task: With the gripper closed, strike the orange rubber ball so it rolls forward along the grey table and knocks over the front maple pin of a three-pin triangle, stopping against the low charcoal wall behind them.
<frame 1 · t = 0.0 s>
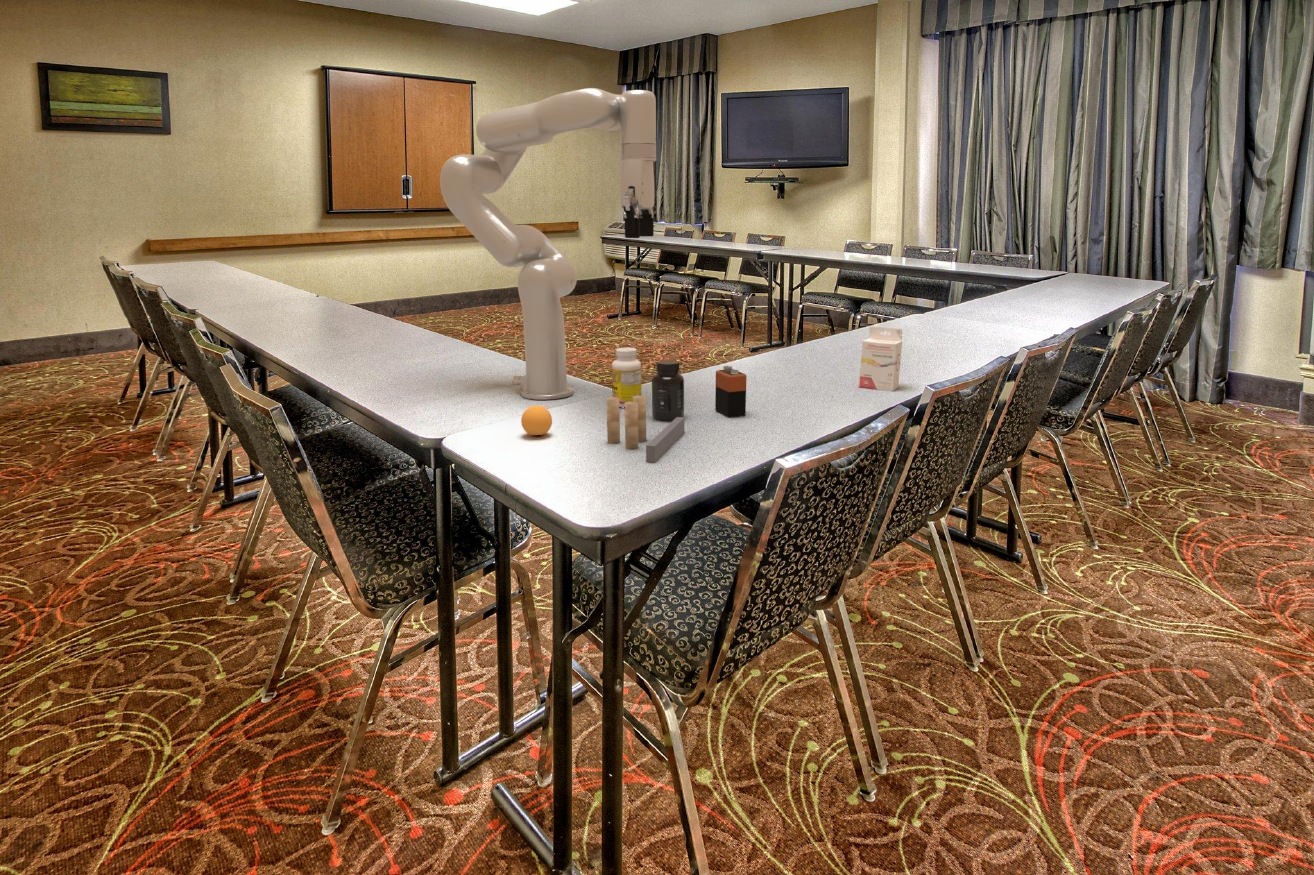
hand: (639, 237, 171), 37 cm above the table, tool pointing down, fingers open, 9 cm apart
ink cartridge box: (878, 388, 193), on the table
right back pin: (631, 447, 146), on the table
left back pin: (640, 440, 151), on the table
supplement bottle: (668, 418, 167), on the table
supplement bottle 2: (627, 406, 177), on the table
front pin: (613, 441, 150), on the table
back wall: (666, 446, 147), on the table
ball: (536, 420, 153), on the table
battery: (730, 414, 170), on the table
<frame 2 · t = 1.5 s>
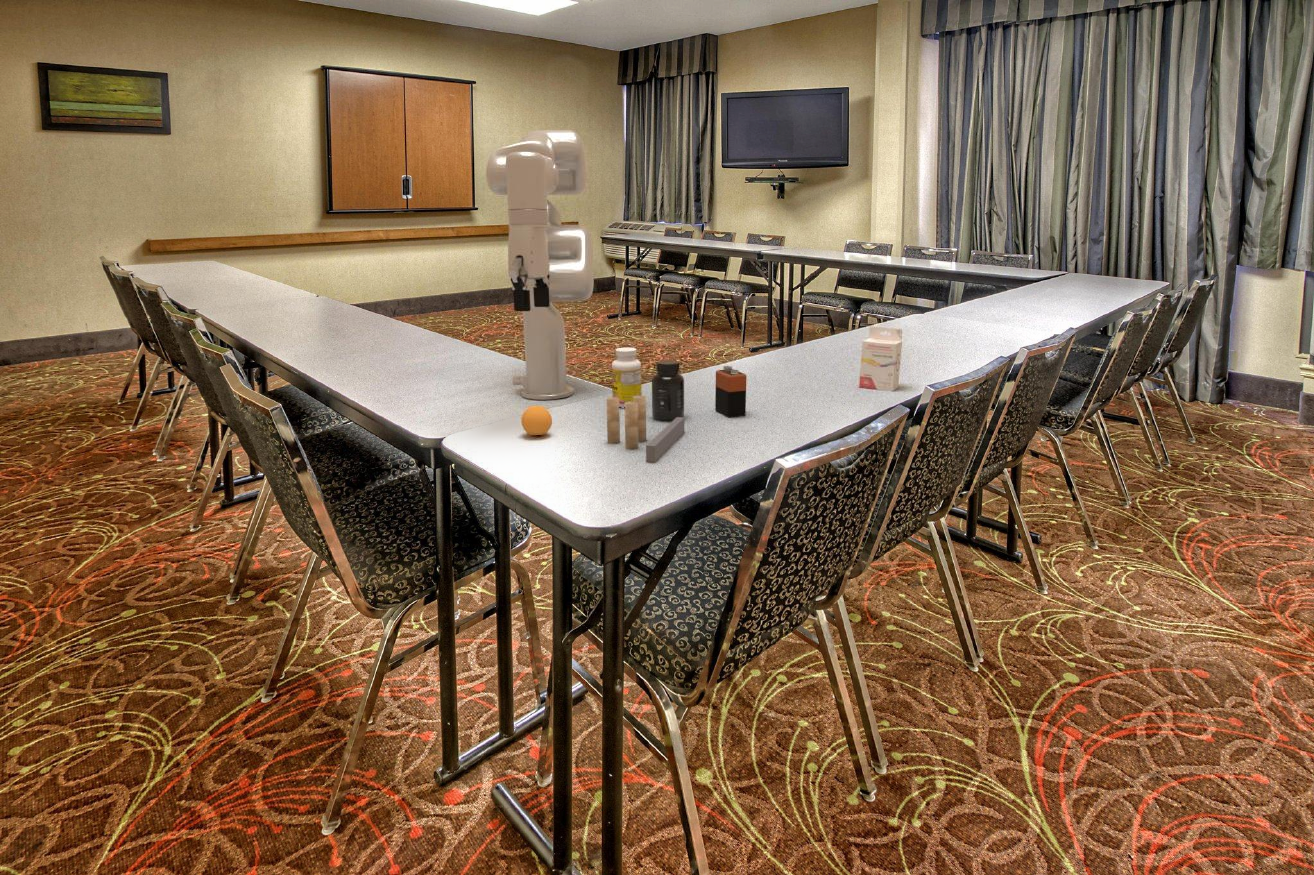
hand: (532, 309, 156), 24 cm above the table, tool pointing down, fingers open, 9 cm apart
nothing on the table moved.
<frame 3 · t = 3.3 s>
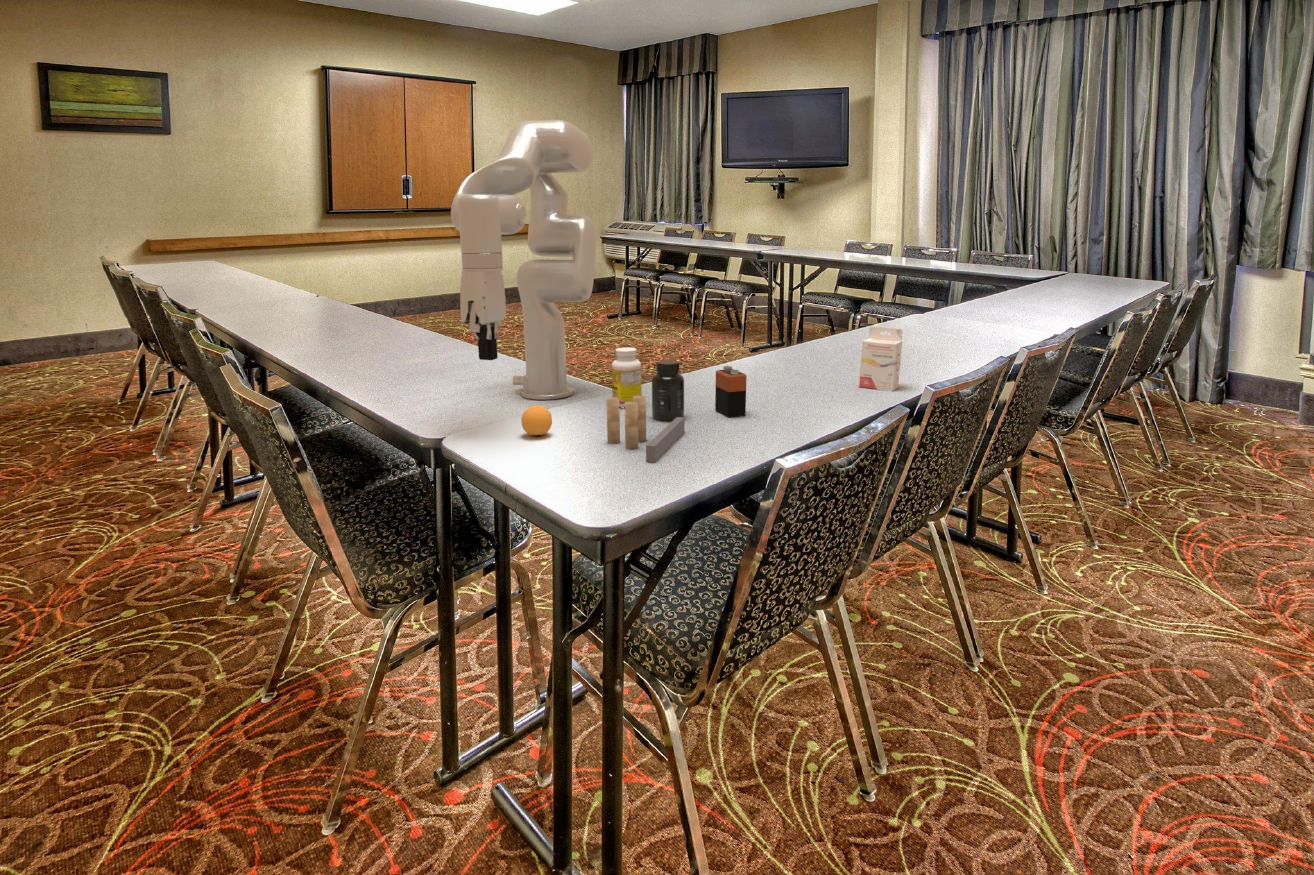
hand: (488, 359, 152), 15 cm above the table, tool pointing down, fingers closed
nothing on the table moved.
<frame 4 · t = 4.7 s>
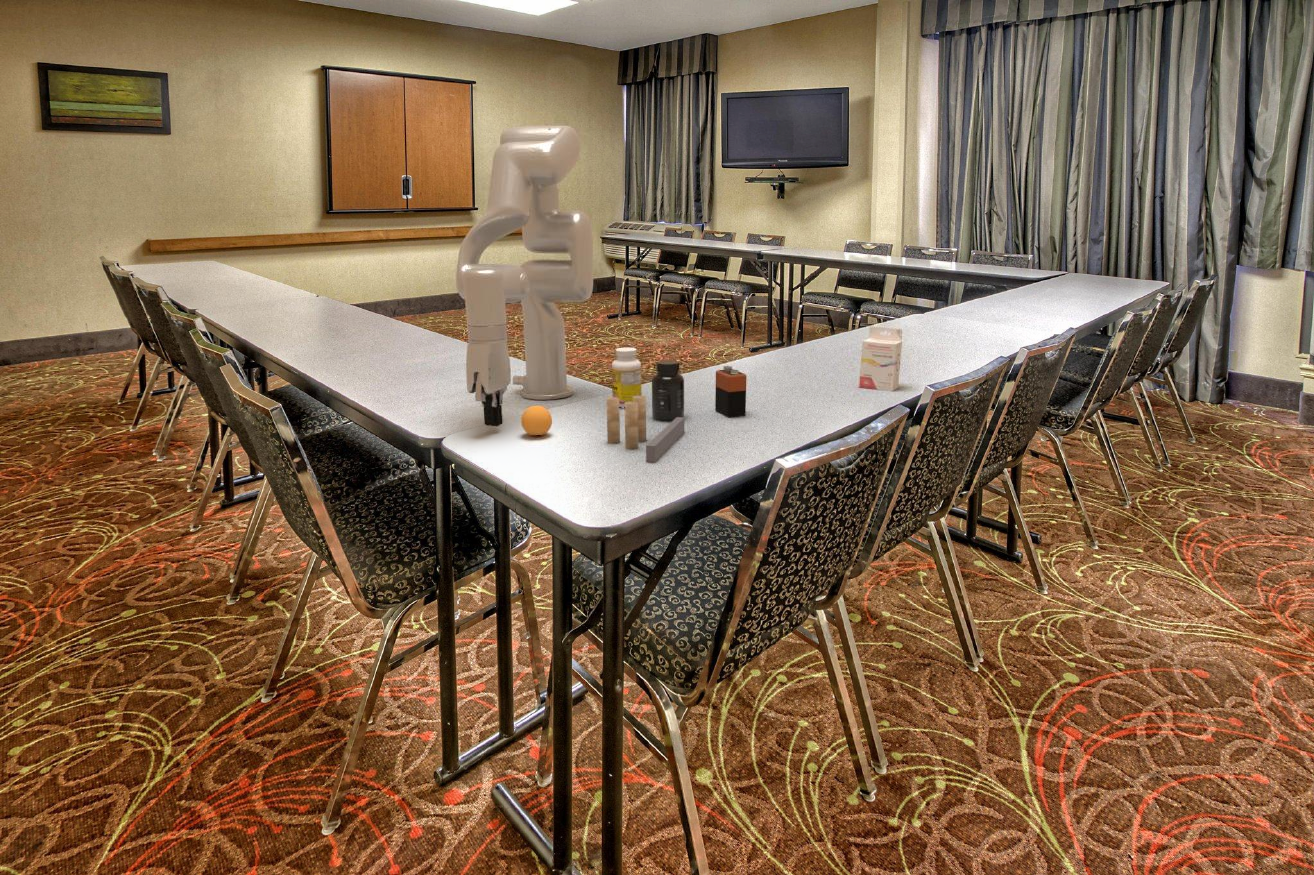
hand: (493, 424, 157), 2 cm above the table, tool pointing down, fingers closed
nothing on the table moved.
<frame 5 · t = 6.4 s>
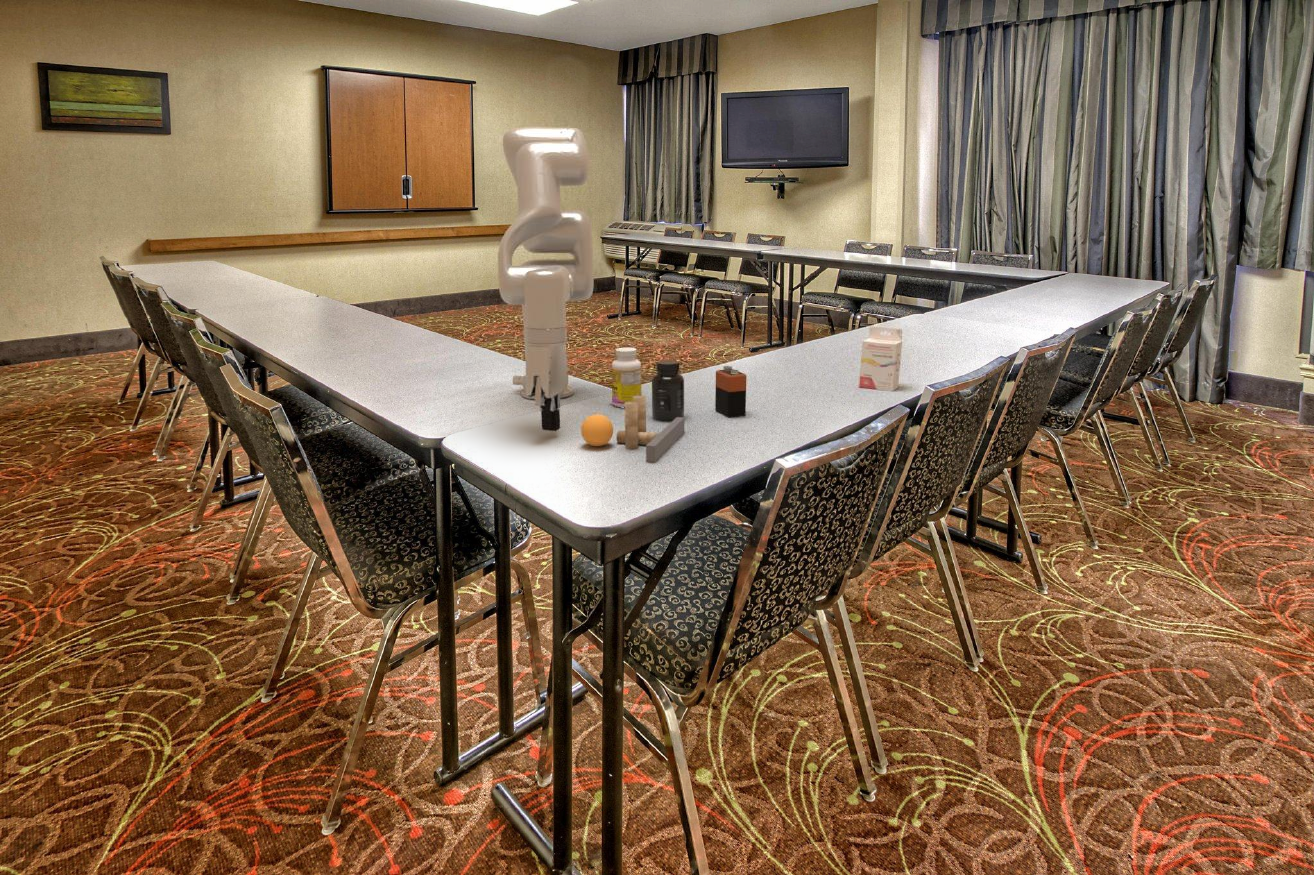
hand: (551, 429, 153), 2 cm above the table, tool pointing down, fingers closed
front pin: (618, 436, 149), point 1 cm above the table, tilted 90°
ball: (597, 430, 147), on the table
everything else where it was.
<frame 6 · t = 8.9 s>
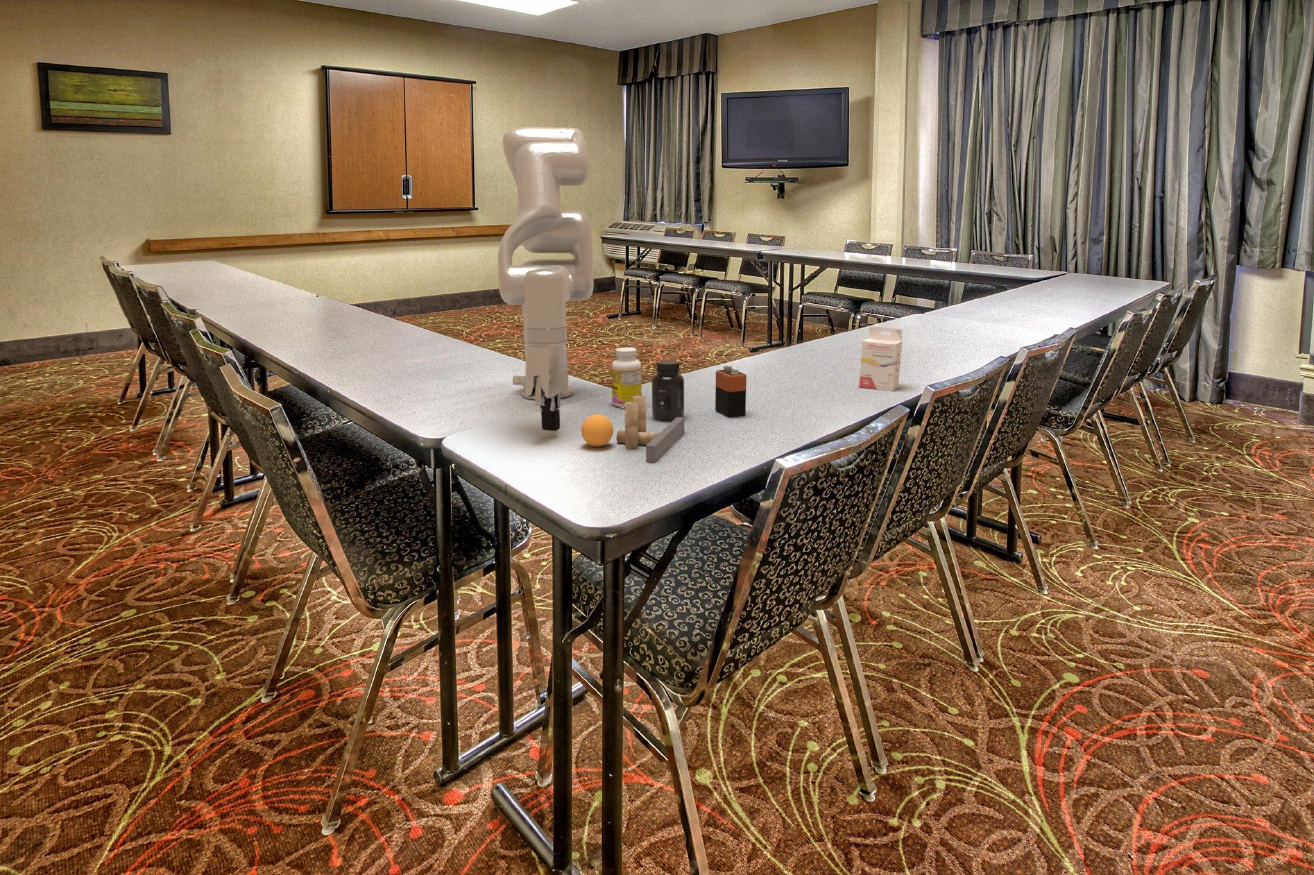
hand: (551, 429, 153), 2 cm above the table, tool pointing down, fingers closed
nothing on the table moved.
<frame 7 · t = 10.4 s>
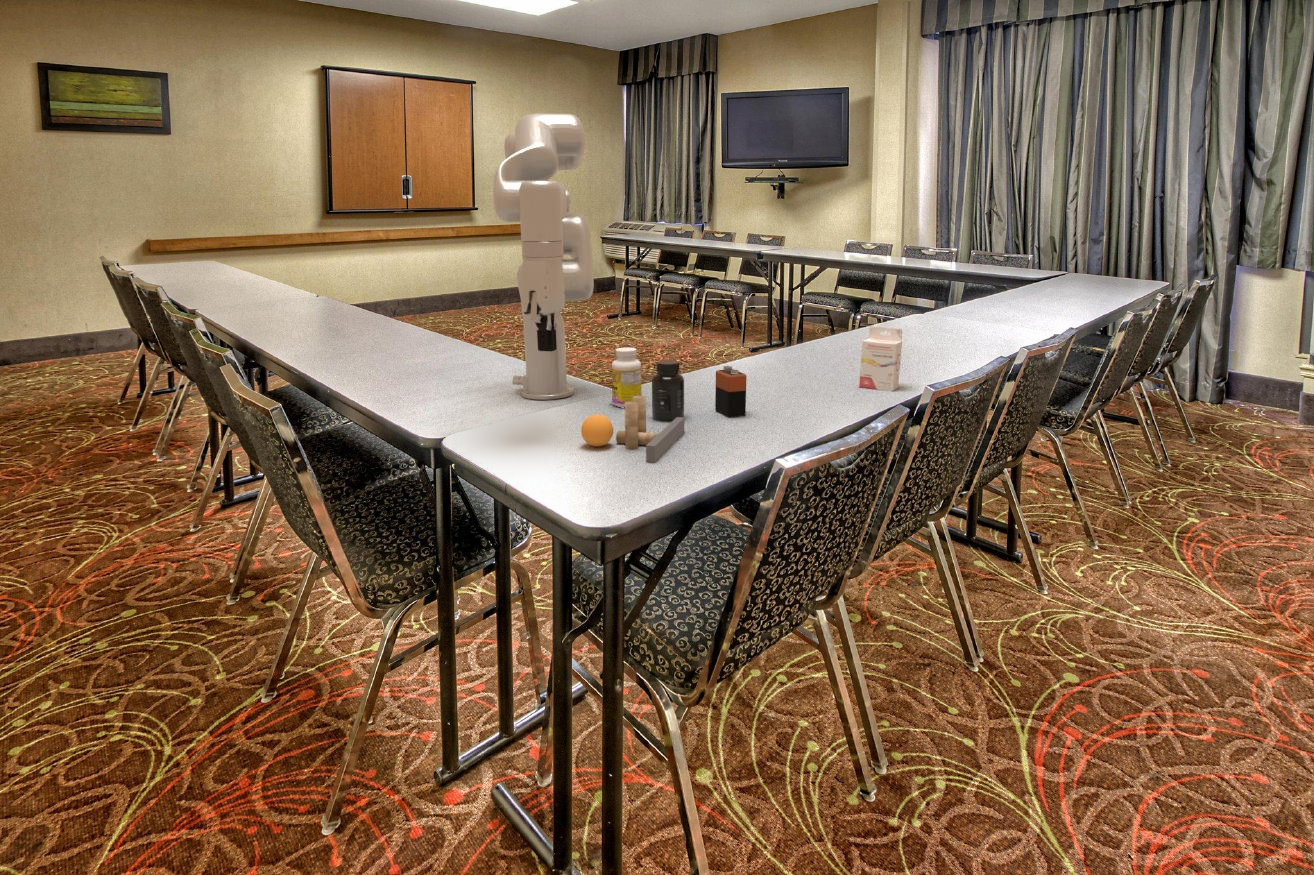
hand: (547, 350, 149), 17 cm above the table, tool pointing down, fingers closed
nothing on the table moved.
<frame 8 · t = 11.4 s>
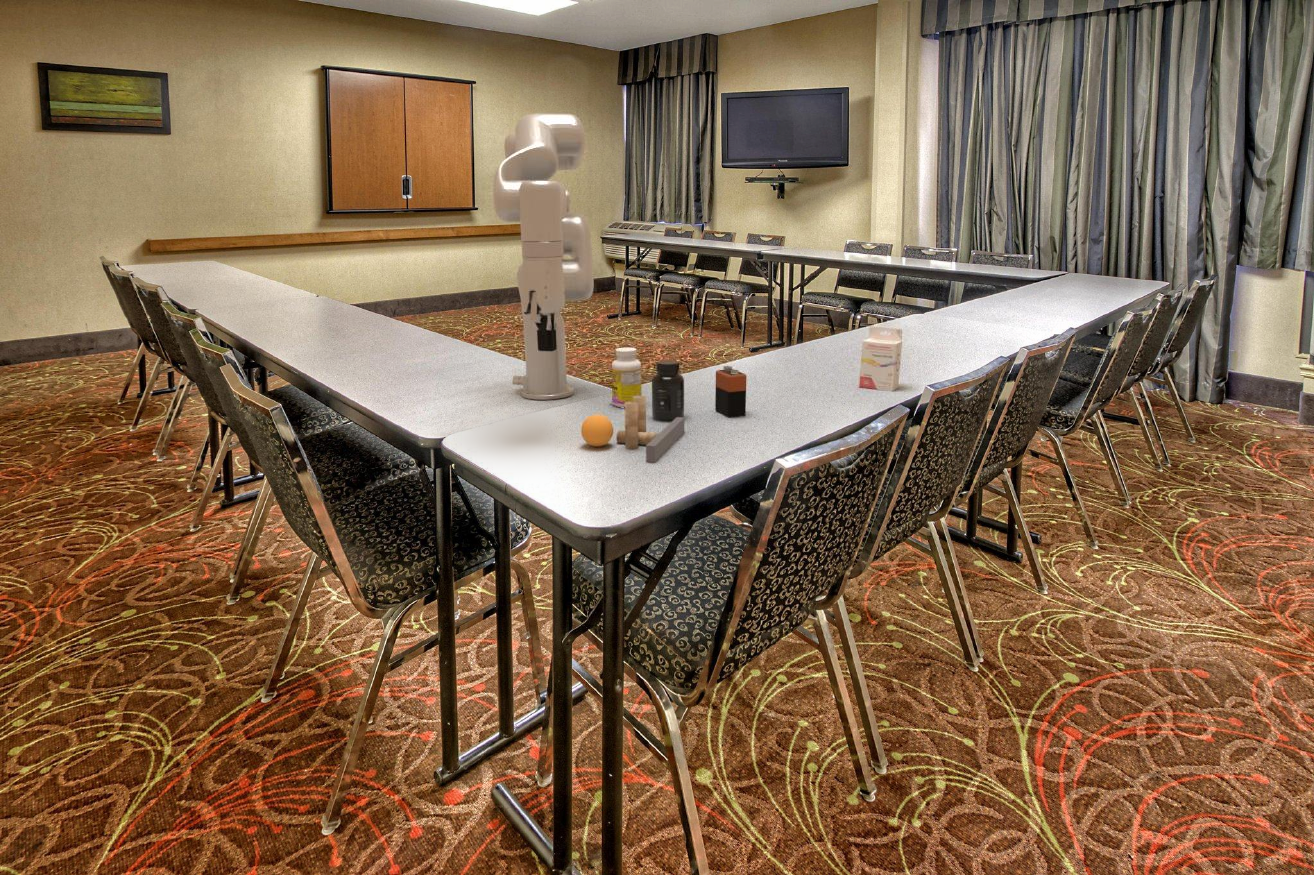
hand: (547, 350, 149), 17 cm above the table, tool pointing down, fingers closed
nothing on the table moved.
at the end: front pin tilted 90°; front pin never touched the robot; ball moved 14.4 cm from its start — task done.
